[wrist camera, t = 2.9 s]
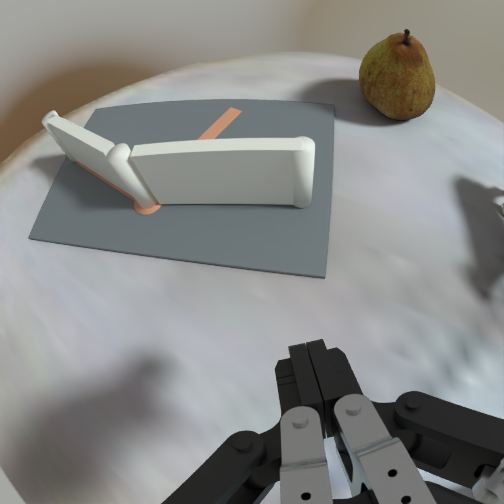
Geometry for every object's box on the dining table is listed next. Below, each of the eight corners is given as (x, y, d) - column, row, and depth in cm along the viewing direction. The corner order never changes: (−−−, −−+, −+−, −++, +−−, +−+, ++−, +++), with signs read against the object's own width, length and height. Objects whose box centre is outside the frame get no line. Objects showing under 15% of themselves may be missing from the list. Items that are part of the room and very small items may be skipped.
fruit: (390, 78, 35) (403, 1, 25) (438, 120, 32) (466, 40, 21) (340, 93, 35) (347, 7, 24) (390, 140, 31) (415, 47, 20)
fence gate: (158, 206, 29) (128, 159, 23) (163, 191, 30) (135, 142, 24) (311, 208, 27) (315, 153, 21) (311, 191, 28) (314, 135, 22)
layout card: (30, 239, 31) (28, 237, 31) (96, 110, 39) (95, 108, 39) (324, 278, 25) (325, 276, 25) (334, 107, 34) (334, 104, 33)
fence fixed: (163, 199, 31) (133, 147, 24) (150, 215, 30) (116, 165, 23) (80, 150, 36) (51, 109, 29) (70, 161, 35) (39, 121, 28)
